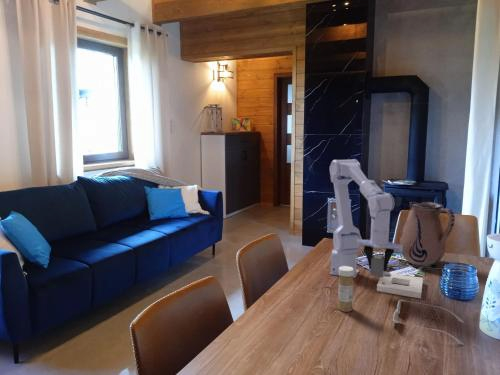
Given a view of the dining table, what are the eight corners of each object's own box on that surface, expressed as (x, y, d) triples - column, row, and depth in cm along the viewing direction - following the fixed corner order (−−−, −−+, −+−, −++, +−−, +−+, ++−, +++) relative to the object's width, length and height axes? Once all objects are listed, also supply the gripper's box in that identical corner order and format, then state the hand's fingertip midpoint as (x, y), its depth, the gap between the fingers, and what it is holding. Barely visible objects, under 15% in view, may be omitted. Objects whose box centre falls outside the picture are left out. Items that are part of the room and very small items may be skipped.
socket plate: (376, 291, 136) (377, 283, 135) (382, 276, 148) (382, 270, 148) (420, 298, 130) (421, 291, 129) (422, 283, 142) (423, 276, 142)
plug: (370, 275, 131) (371, 256, 130) (372, 271, 135) (373, 253, 134) (383, 277, 130) (383, 258, 128) (384, 273, 133) (385, 254, 132)
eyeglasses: (399, 309, 124) (399, 297, 123) (464, 322, 115) (465, 309, 114) (391, 331, 110) (391, 318, 110) (464, 348, 102) (465, 334, 101)
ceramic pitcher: (409, 253, 175) (413, 198, 171) (460, 265, 160) (465, 205, 156) (390, 262, 164) (393, 203, 160) (442, 276, 148) (447, 211, 144)
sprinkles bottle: (346, 304, 126) (347, 264, 124) (355, 310, 122) (357, 269, 120) (334, 307, 124) (335, 266, 122) (343, 313, 120) (345, 271, 118)
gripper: (355, 230, 130) (353, 269, 132) (402, 235, 123) (399, 276, 125) (359, 225, 136) (357, 262, 138) (404, 230, 129) (401, 269, 132)
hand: (378, 269), depth 132 cm, fingers closed on plug, 4 cm apart
